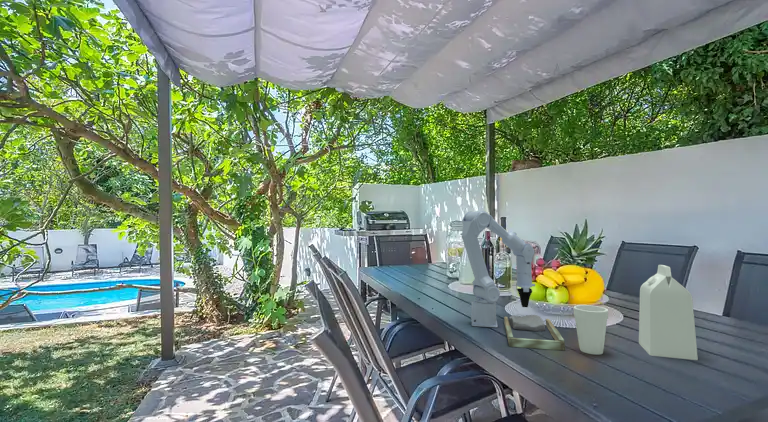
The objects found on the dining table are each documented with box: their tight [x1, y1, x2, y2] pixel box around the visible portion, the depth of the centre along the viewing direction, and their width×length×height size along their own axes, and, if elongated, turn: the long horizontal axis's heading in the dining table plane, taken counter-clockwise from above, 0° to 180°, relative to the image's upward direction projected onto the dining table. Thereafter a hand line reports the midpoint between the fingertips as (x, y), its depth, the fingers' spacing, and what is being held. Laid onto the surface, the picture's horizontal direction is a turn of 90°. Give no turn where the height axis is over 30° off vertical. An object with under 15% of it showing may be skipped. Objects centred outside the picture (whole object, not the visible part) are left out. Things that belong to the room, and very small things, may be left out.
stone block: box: [508, 314, 546, 332], centre depth 143 cm, size 12×5×10 cm
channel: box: [503, 316, 566, 351], centre depth 133 cm, size 17×28×3 cm, turn 165°
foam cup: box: [573, 304, 609, 356], centre depth 117 cm, size 10×9×13 cm
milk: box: [638, 264, 698, 361], centre depth 116 cm, size 12×12×26 cm
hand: (524, 306), depth 153 cm, fingers closed
